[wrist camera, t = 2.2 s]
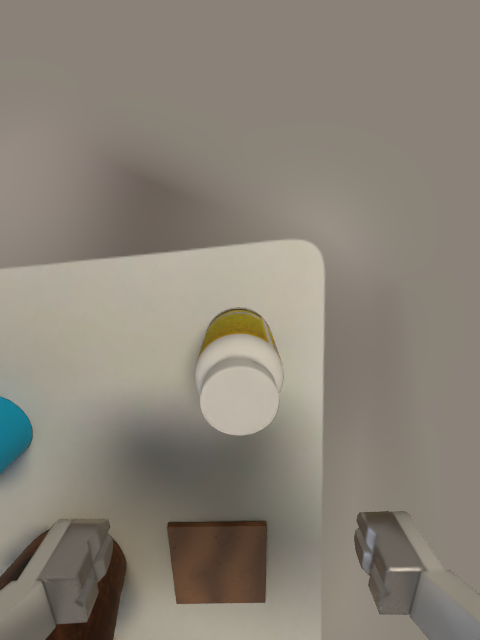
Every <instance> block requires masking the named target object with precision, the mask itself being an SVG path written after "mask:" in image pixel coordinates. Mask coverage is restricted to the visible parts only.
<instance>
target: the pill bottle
mask: <svg viewBox="0 0 480 640" xmlns="http://www.w3.org/2000/svg"><path fill="white" fill-rule="evenodd" d="M283 378H284V372H283V366H282V362H281V359H280V356H279V353H278V350H277V347H276V344H275V342H274V339H273V336H272V333H271V331H270V328H269V326H268V324H267V322H266V321H265V320H264V318H263V317H262V316H261V315H259V314H258V313H256V312H255V311H253V310H250V309H247V308H241V307H237V308H231V309H227V310H225V311H223V312H221V313H220V314H218V315H217V316H216V317H215V318H214V319H213V320H212V322H211V323H210V325H209V327H208V329H207V332H206V335H205V339H204V342H203V345H202V348H201V351H200V354H199V357H198V360H197V364H196V369H195V382H196V387H197V390H198V392H199V394H200V408H201V411H202V414H203V416H204V417H205V419H206V420H207V421H208V423H209V424H210V425H212V426H213V427H214V428H215V429H217V430H219V431H221V432H223V433H226V434H230V435H236V436H243V435H249V434H253V433H256V432H258V431H260V430H262V429H263V428H265V427H266V426H267V425H268V424H269V423H270V422H271V421H272V420H273V418H274V417H275V415H276V413H277V410H278V407H279V393H280V390H281V388H282V384H283Z"/></svg>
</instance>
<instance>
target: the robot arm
mask: <svg viewBox="0 0 480 640" xmlns="http://www.w3.org/2000/svg"><path fill="white" fill-rule="evenodd" d="M357 523H358V525H359V528H358V529H357V530H356V531H355V536H354V537H355V538H354V541H355V549H356V553H357V556H358V559H359V562H360V565H361V567H362V569H363V570H364V571H365V572H366V573H367V574H368V575H369V576H370V579H369V585H368V586H369V588H370V591H371V593H372V595H373V599H374V601H375V604H376V606H377V609H378V611H379V614H403V615H404V614H405V615H406V614H407V615H408V614H409V615H410V617H411V619H412V620H413V621H414V622H415V623H416V625H417V626H418V627H419V628H420V629H421V631H422V632H423V633H424V634H425V635H426V636H427V637H428V639H429V640H480V593H478V592H477V591H476V590H474V589H473V588H472V587H471V586H470V585H468V584H467V583H466V582H465V581H463V580H462V579H461V578H460V577H459V576H457V575H456V574H455V573H454V572H452V571H451V570H445V569H444V567H443V566H442V564H441V562H440V561H439V559H438V558H437V556H436V555H435V553H434V552H433V550H432V548H431V547H430V545H429V544H428V543H427V541H426V539H425V538H424V536H423V535H422V533H421V532H420V530H419V528H418V527H417V525H416V524H415V522H414V521H413V519H412V517H411V516H410V515H409V514H408V513H407V512H404V511H399V512H389V511H385V512H363V513H362V512H361V513H359V514H358V515H357ZM109 528H110V525H109V521H108V519H59V520H58V521H57V522H56V523H55V524H54V525H53V526H52V527H51V529H50V530H49V532H48V534H47V535H46V537H45V538H44V540H43V541H42V543H41V544H40V546H39V547H38V549H37V551H36V552H35V554H34V555H33V557H32V558H31V560H30V561H29V563H28V564H27V566H26V568H25V569H24V571H23V572H22V574H21V575H20V577H19V578H18V580H17V581H11V582H10V583H9V584H8V585H6V586H5V587H4V588H3V589H2V590H0V640H45V639H46V638H47V637H48V636H49V635H50V633H51V632H52V631H53V630H54V629H55V627H56V624H68V623H84V622H87V621H88V618H89V616H90V613H91V611H92V608H93V606H94V603H95V601H96V598H97V596H98V593H99V591H98V585H97V583H98V582H99V581H100V580H101V579H102V578H103V577H104V576H105V575H106V573H107V570H108V567H109V565H110V561H111V557H112V552H113V540H112V537H111V536H110V535H109V534H108V533H107V532H108V530H109Z"/></svg>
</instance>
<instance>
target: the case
mask: <svg viewBox="0 0 480 640" xmlns="http://www.w3.org/2000/svg"><path fill="white" fill-rule="evenodd" d="M47 534H48V532H47V533H44V534H42V535H41V536H39V537H38V538H37V539H35V540H34V541H33V542H32V543H31V544H30V545H29V546H28V547H27V548H26V549H25V550H24V551H23V553H22V554H21V555H20V556H19V557H18V558H17V559H16V560H15V561H14V563H13V564H12V565H11V566H10V567H9V568H8V569H7V570H6V571H5V572H4V573H3V575H2V576H1V577H0V590H2V589H3V588H4V587H5V586H6V585H8V584H9V583H10V582H11V581H17V580H18V578H19V577H20V575H21V574H22V572H23V571H24V569H25V568H26V566H27V564H28V563H29V561H30V560H31V558H32V557H33V555H34V554H35V552H36V551H37V549H38V547H39V546H40V544H41V543H42V541H43V540H44V538H45V537H46V535H47ZM125 570H126V565H125V560H124V557H123V555H122V553H121V551H120V549H119V547H118V546H117V545H116V543H115V542H114V541H113V552H112V557H111V561H110V565H109V567H108V570H107V573H106V575H105V576H104V577H103V578H102V579H101V580H100V581H99V582H98V583H97V585H98V591H99V593H98V596H97V598H96V601H95V603H94V606H93V608H92V611H91V613H90V616H89V618H88V621H87V622H84V623H68V624H56V627H55V629H54V630H53V631H52V632H51V633H50V635H49V636H48V637H47V638H46V639H45V640H113V637H114V631H115V626H116V620H117V614H118V607H119V601H120V595H121V591H122V587H123V583H124V576H125Z"/></svg>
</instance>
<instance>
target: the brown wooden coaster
mask: <svg viewBox="0 0 480 640" xmlns="http://www.w3.org/2000/svg"><path fill="white" fill-rule="evenodd" d="M167 529H168V537H169V545H170V553H171V561H172V569H173V578H174V586H175V594H176V602H177V604H201V603H265V593H266V540H267V523H266V521H254V522H187V523H168V527H167Z"/></svg>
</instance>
